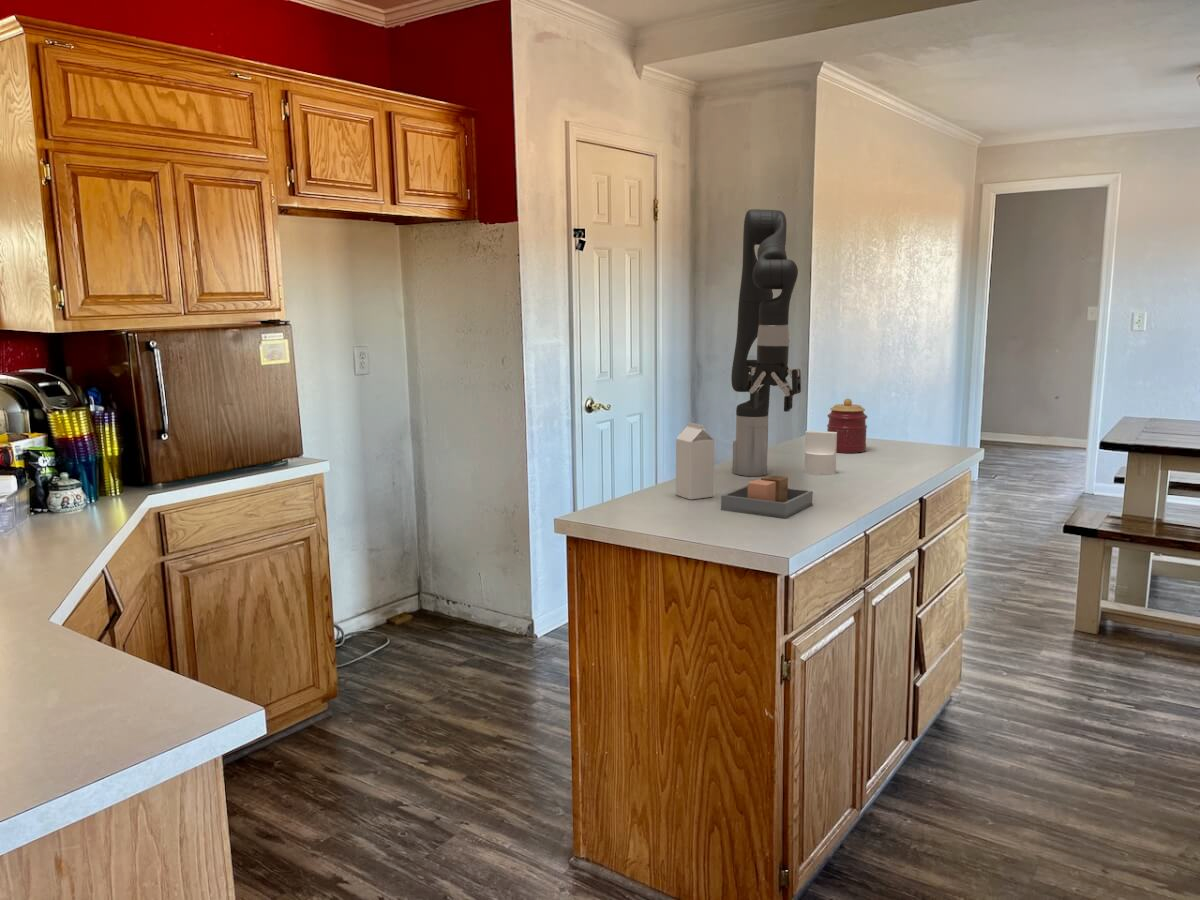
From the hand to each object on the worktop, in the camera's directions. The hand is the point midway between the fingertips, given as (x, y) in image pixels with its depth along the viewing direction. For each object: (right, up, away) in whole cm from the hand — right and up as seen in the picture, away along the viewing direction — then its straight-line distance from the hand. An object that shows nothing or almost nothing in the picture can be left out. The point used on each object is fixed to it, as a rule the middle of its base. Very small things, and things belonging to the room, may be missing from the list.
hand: (770, 409), depth 217 cm
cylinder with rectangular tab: (+23, -17, +43) cm, 52 cm away
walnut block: (+1, -23, +1) cm, 23 cm away
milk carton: (-18, -22, +12) cm, 31 cm away
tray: (-1, -24, -1) cm, 24 cm away
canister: (+41, -10, +81) cm, 91 cm away
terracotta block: (-3, -24, -4) cm, 24 cm away
